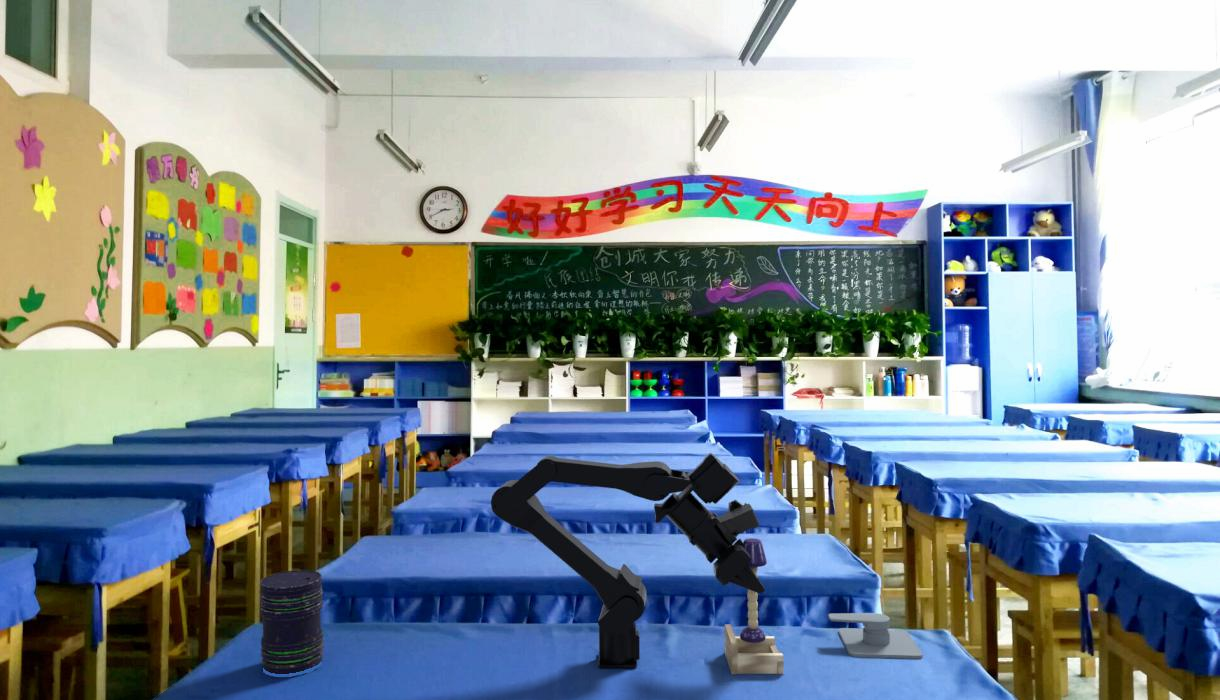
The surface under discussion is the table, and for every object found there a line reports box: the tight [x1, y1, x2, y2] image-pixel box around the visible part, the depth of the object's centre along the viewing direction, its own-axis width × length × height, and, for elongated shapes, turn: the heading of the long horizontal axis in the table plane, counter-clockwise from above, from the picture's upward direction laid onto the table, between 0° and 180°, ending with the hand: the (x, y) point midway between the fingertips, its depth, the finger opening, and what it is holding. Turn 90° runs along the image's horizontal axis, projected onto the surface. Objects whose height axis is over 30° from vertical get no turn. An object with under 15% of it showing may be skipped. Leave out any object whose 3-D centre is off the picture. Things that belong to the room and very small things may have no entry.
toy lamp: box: [739, 538, 768, 643], centre depth 141 cm, size 5×5×17 cm
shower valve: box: [828, 612, 924, 660], centre depth 150 cm, size 12×6×15 cm
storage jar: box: [259, 569, 324, 674], centre depth 141 cm, size 10×10×15 cm
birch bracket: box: [724, 623, 785, 675], centre depth 141 cm, size 8×9×5 cm
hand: (760, 587), depth 141 cm, fingers closed on toy lamp, 4 cm apart
